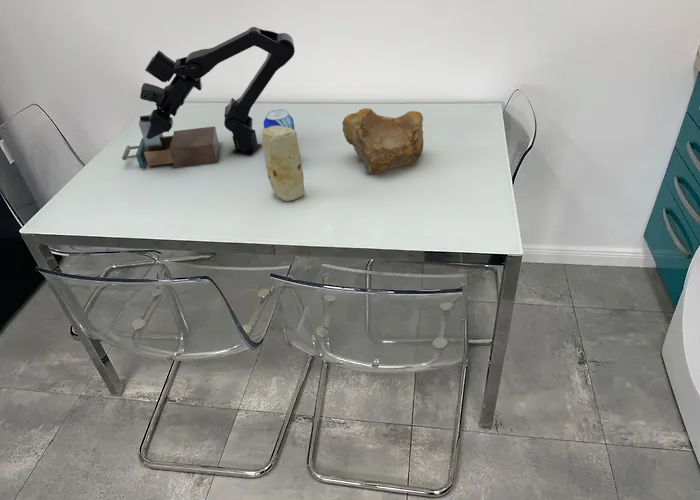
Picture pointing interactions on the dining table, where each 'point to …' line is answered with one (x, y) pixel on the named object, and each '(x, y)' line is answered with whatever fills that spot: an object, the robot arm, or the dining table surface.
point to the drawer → (150, 154)
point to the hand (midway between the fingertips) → (150, 131)
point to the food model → (283, 162)
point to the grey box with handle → (153, 143)
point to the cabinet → (194, 147)
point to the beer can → (278, 119)
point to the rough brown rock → (384, 138)
